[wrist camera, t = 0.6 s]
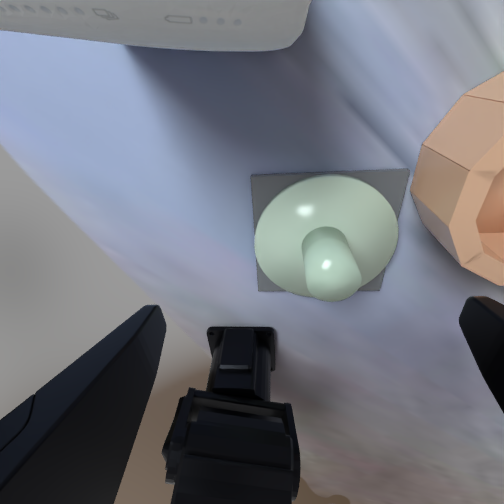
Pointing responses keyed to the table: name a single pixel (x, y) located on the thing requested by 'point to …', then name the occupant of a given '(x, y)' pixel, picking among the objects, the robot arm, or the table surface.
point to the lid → (326, 236)
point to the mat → (270, 185)
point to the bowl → (467, 181)
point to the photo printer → (163, 22)
